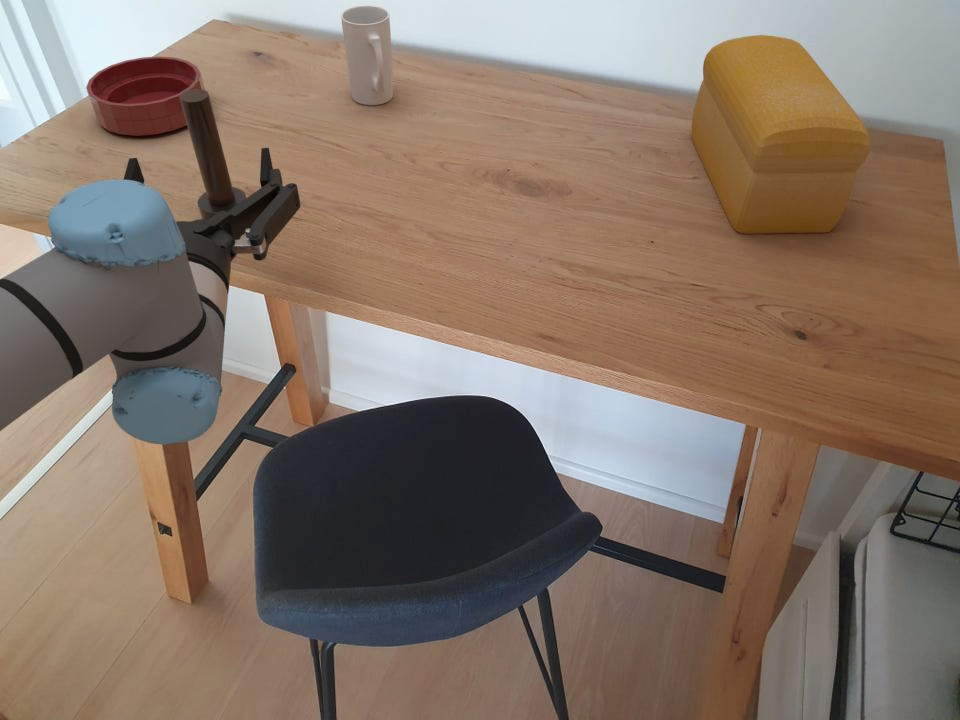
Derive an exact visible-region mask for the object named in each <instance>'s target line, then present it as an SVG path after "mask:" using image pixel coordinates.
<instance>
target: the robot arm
mask: <svg viewBox="0 0 960 720" xmlns="http://www.w3.org/2000/svg"><path fill="white" fill-rule="evenodd" d="M271 157H272V156H271V152H270V147H261V151H260V167H259V168H260V170H259V184H260V187H261V188H259V189H257V190H256V191H255V192H253V193H251V194H250V195H248V197H247V196H246V199H245V200H243V201H242V202H240V203H239V204H237V205H236V206H234V207H233V208H232V209H230V210H229V211H227V212H225V211H220V212H218V213H217V214H215V215H214V216H213V217H211V218H210V219H208V220H207V219H202V218H201V219H196V220H192V221H188V220H187V221H186V220H178V221H177V220H176V219H175V216H174V214H173V211H171V208H170V206H169V204H168V202H167V200H166V199H165V198H164V196H163V195H162V194H161V193H160V192H159V191H158V190H156V189H155V188H154V187H151V186H149V185H145V178H144V174H143V171H142V168H141V166H140V163H139V161H138V158H137V157H129V158H128V161H127V165H126V169H125V171H124V172H125V173H124V176H123V179H105V180H104V179H103V180H98V181H95V182H89V183H87V184H83V185H82V186H79V187H76V188H74V189H72V190H71V191H69V192H67V193H66V194H65V195H63V196H62V197H61V198H60V200H59V203H58V204H57V205H54V206H53V207H52V208H51V210H50V212H49V215H48V220H47V223H48V229H49V231H50V242H51V243H52V245H53V246H54V247H53V248H52V249H50V250H49V251H47V252H45V253H43V254H42V255H40V256H38V257H36V258H35V259H33V260H31V261H29V262H28V263H25V264H24V265H22V266H20V267H19V268H17V269H16V270H14V271H12V272H10V273H9V274H7V275H5V276H3V277H1V278H0V432H1V431H3V430H5V428H6V427H8V426H10V424H13V422H15V421H16V420H17V419H19V418H20V417H21V416H23V415H24V414H26V413H27V412H28V411H30V410H31V409H32V408H34V407H35V406H36V405H38V404H39V403H40V402H42V401H44V400H45V399H46V398H47V397H48V396H50V395H52V394H53V393H54V392H55V391H57V390H58V389H60V388H61V387H62V386H64V385H65V384H66V383H68V382H69V381H71V380H73V379H75V378H76V377H78V376H79V375H80V374H82V373H84V372H85V371H87V370H88V369H89V368H91V367H92V366H94V365H95V364H96V363H97V362H99V361H101V360H103V358H105V357H107V355H108V356H109V358H110V360H111V362H112V364H113V366H114V369H115V373H116V379H115V382H114V383H113V384H112V386H111V395H112V401H111V411H112V412H111V413H112V416H113V419H114V421H115V423H116V424H117V426H118V427H119V428H120V429H121V430H122V431H123V432H125V433H126V434H127V435H129V436H131V437H133V438H134V439H137V440H139V441H142V442H145V443H148V444H153V445H161V446H162V445H165V446H168V445H170V444H179V443H181V444H184V443H187V442H191V441H193V440H195V439H197V438H200V437H201V436H203V435H204V434H205V433H206V432H207V431H208V430H209V429H210V428H212V426H213V424H214V422H215V421H216V419H217V414H218V409H219V402H220V397H221V396H222V393H223V386H222V374H223V373H222V372H223V358H224V347H225V336H226V335H225V334H226V333H225V332H226V321H227V311H228V300H229V291H230V281H231V269H232V262H233V260H234V259H235V258H236V257H237V255H246V254H249V255H250V254H252V257H253V259H254V260H255V261H257V262H258V261H264V260H266V259H267V255H268V251H269V247H270V245H271V244H272V243H273V242H274V240H275V239H276V238H277V237H278V235H280V234H281V232H282V230H283V229H284V228H285V227H286V226H287V225H288V223H289V222H290V221H291V219H293V217H294V216H295V214H296V213H297V212H298V211H299V210H300V208H301V207H302V205H301V198H300V194H299V189H298V188H299V187H298V185H297V184H296V183H295V182H290V183H287V184H285V185H284V183H283V178H282V173H281V170H280V168H274V167H273V162H272V158H271ZM221 226H222V228H223V229H222V228H221Z"/></svg>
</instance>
